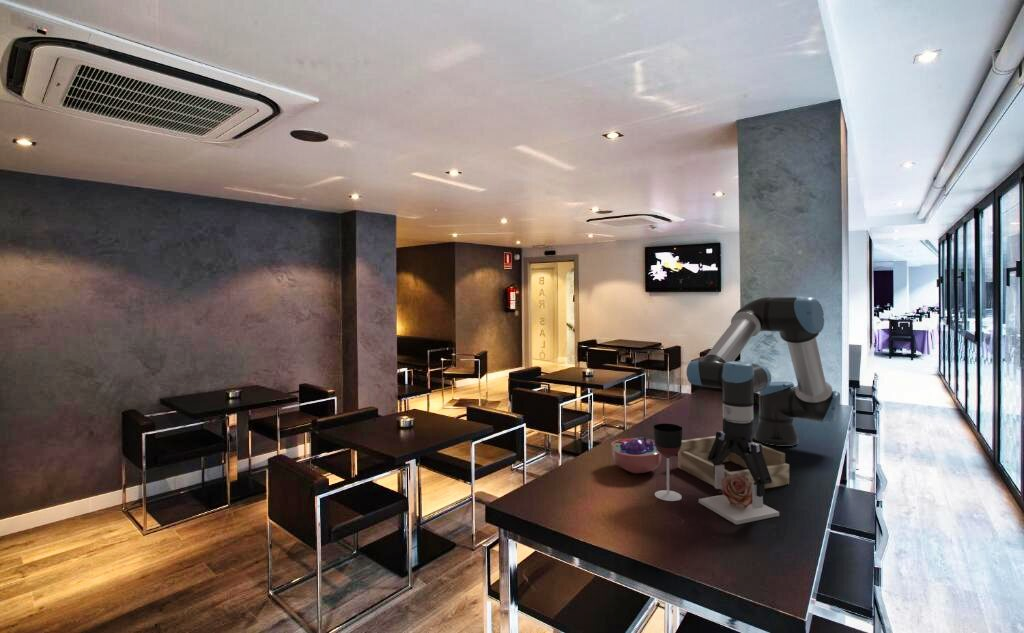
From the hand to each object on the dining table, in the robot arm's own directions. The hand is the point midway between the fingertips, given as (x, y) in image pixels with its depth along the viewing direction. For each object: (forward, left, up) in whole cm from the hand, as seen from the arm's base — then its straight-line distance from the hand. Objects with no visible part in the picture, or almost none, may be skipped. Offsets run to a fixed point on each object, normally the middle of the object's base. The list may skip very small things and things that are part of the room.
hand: (737, 497), depth 131 cm
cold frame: (-16, -20, -3) cm, 26 cm away
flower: (0, 0, -2) cm, 2 cm away
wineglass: (+12, -14, -3) cm, 19 cm away
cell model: (+9, -35, -3) cm, 36 cm away
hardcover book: (-15, -52, -4) cm, 54 cm away
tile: (0, 0, -3) cm, 3 cm away
